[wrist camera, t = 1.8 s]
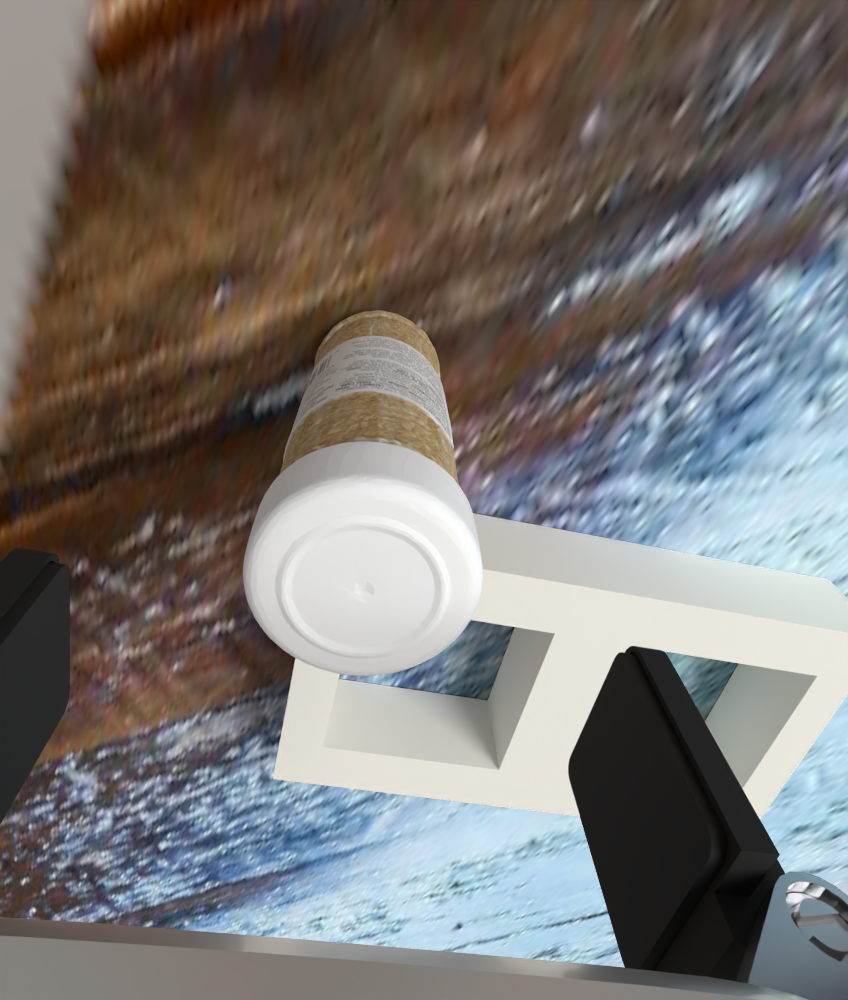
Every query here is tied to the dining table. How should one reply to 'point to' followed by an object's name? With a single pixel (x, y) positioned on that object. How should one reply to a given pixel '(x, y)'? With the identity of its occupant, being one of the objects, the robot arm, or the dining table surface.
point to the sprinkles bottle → (366, 511)
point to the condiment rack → (583, 674)
